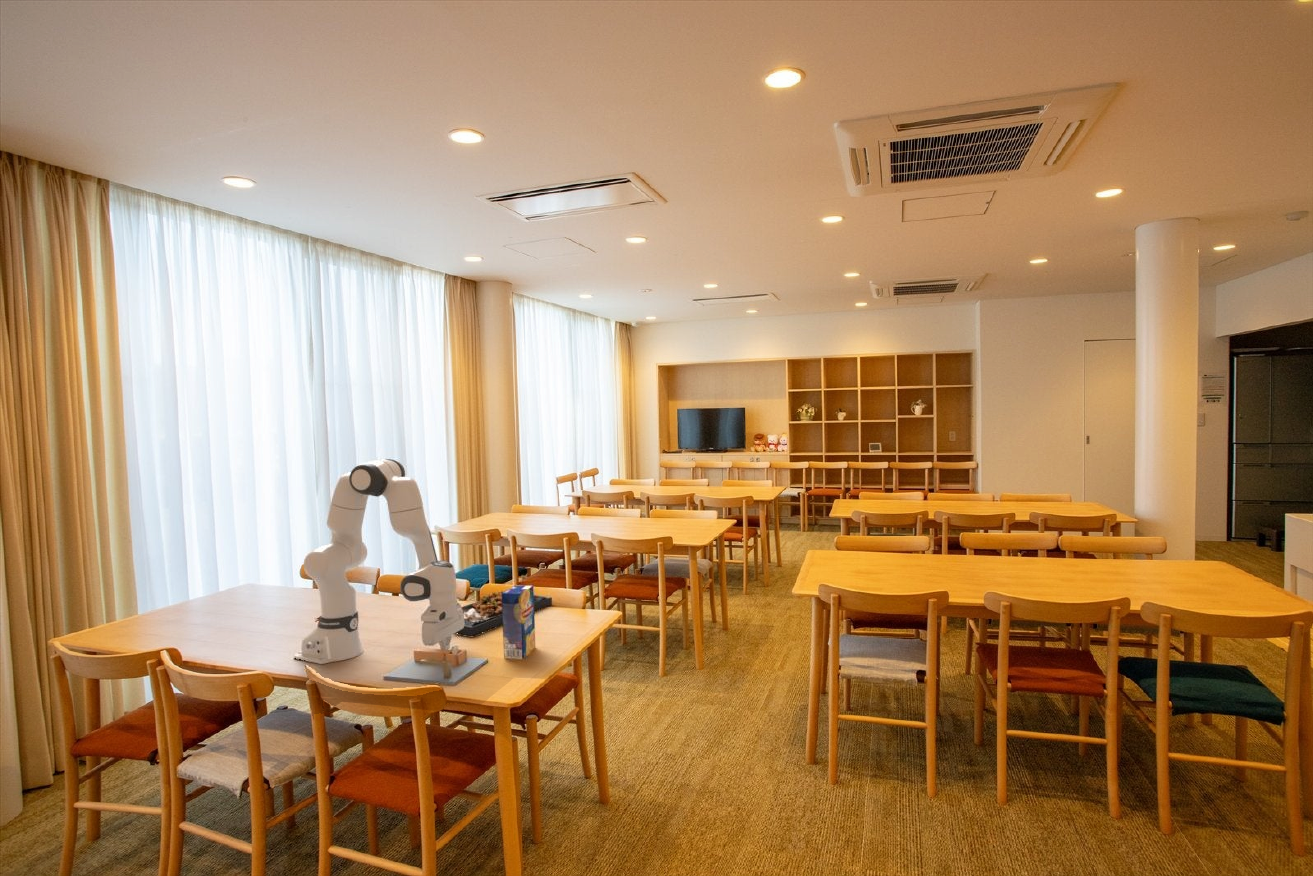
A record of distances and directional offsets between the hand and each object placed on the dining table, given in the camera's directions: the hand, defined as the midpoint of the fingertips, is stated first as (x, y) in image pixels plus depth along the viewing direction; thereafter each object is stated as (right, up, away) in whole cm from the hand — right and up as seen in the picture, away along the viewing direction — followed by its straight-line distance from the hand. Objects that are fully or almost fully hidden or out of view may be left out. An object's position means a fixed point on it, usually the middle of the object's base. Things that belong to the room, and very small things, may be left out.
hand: (445, 650), depth 231 cm
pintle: (+6, -1, -9) cm, 10 cm away
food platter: (+5, -1, +45) cm, 45 cm away
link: (0, -1, -7) cm, 7 cm away
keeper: (+3, -2, -20) cm, 20 cm away
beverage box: (+25, -2, +1) cm, 25 cm away
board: (+1, -3, -12) cm, 13 cm away
